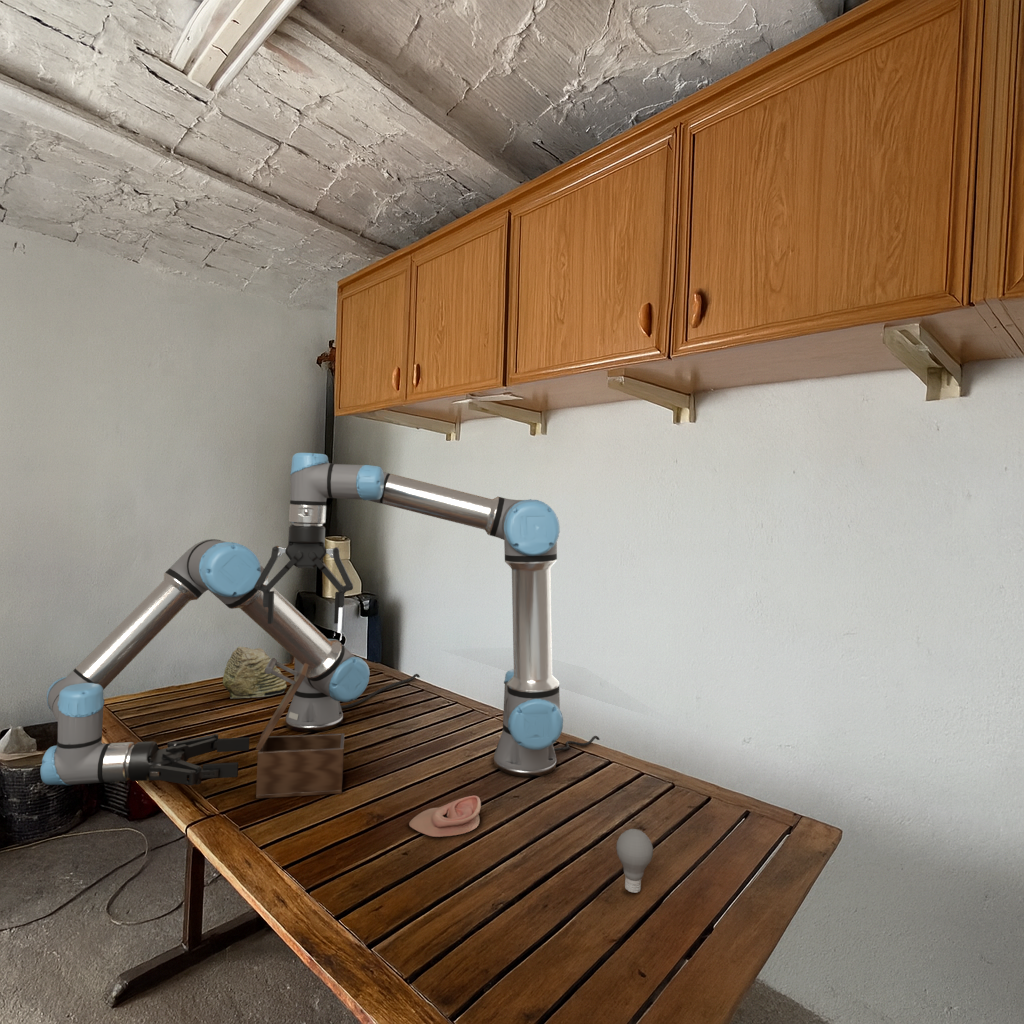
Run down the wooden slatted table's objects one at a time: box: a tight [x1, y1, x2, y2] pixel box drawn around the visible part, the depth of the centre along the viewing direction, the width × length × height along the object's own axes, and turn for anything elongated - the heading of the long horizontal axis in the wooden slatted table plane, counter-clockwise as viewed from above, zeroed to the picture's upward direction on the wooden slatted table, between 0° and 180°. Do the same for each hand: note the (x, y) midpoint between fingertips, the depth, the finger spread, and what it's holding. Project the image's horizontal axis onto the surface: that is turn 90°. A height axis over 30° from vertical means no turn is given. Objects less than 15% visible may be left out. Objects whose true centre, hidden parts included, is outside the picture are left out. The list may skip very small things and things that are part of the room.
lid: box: [255, 657, 309, 751], centre depth 136 cm, size 18×9×8 cm
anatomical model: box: [408, 795, 482, 838], centre depth 125 cm, size 13×4×12 cm
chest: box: [255, 733, 346, 799], centre depth 138 cm, size 17×9×10 cm, turn 103°
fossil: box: [222, 646, 288, 699], centre depth 198 cm, size 9×18×15 cm, turn 132°
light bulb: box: [615, 828, 654, 894], centre depth 106 cm, size 6×6×10 cm
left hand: (243, 756), depth 135 cm, fingers open, 13 cm apart
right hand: (303, 622), depth 137 cm, fingers open, 13 cm apart
